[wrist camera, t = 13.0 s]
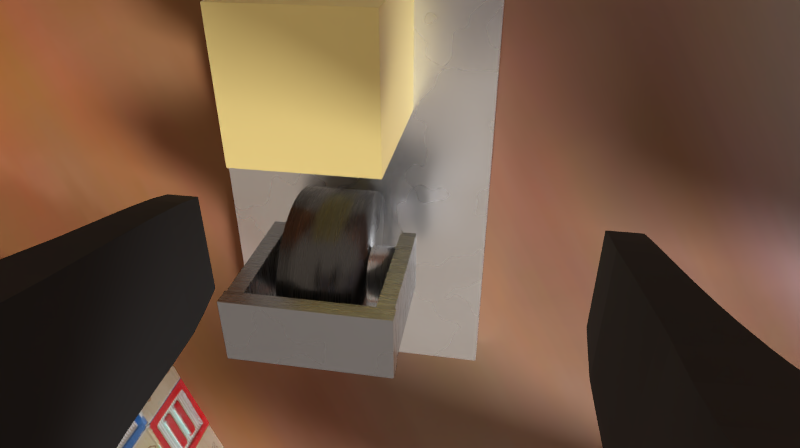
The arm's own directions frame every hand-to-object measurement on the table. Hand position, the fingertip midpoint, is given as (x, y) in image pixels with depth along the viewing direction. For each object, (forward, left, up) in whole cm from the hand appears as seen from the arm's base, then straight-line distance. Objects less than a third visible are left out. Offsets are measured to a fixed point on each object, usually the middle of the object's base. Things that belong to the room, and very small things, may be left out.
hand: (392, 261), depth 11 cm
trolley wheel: (+3, +3, -10) cm, 11 cm away
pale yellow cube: (+3, -2, -9) cm, 10 cm away
